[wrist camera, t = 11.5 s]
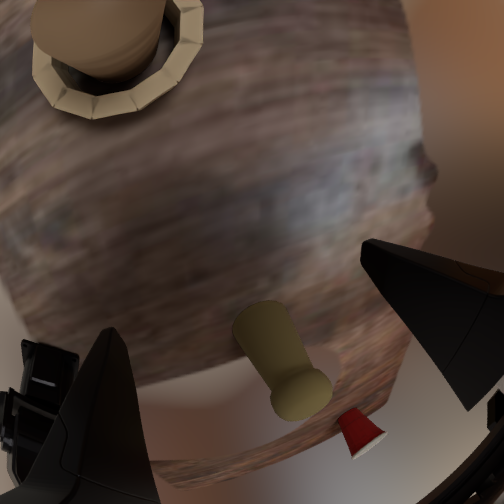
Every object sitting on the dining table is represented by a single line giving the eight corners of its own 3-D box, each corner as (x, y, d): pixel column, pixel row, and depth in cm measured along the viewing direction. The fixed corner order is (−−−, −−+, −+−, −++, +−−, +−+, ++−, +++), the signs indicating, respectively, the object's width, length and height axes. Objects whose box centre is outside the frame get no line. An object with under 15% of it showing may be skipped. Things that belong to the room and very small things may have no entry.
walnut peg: (134, 93, 14) (118, 77, 7) (69, 71, 11) (7, 48, 4) (172, 28, 12) (196, -33, 5) (108, 7, 10) (85, -59, 3)
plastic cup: (369, 403, 61) (392, 434, 51) (337, 426, 62) (358, 458, 52) (359, 398, 54) (386, 434, 45) (323, 424, 55) (346, 461, 45)
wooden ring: (148, 135, 16) (148, 140, 13) (30, 95, 11) (7, 94, 8) (219, 17, 13) (234, 0, 10) (101, -24, 8) (94, -46, 5)
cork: (227, 346, 28) (267, 436, 19) (238, 301, 25) (291, 401, 16) (278, 340, 30) (325, 418, 21) (294, 298, 28) (356, 380, 19)
